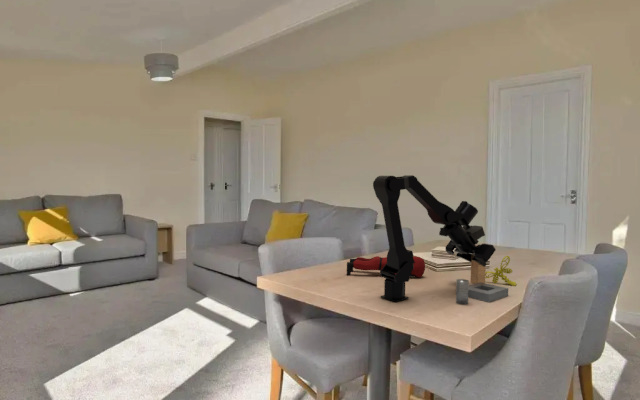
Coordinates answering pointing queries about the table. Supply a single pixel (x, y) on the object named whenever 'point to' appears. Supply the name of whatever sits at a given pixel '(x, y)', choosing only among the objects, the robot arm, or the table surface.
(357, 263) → the toy
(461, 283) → the round bit
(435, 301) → the table surface
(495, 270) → the decorative insect
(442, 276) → the table surface
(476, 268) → the square bit
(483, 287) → the socket plate
